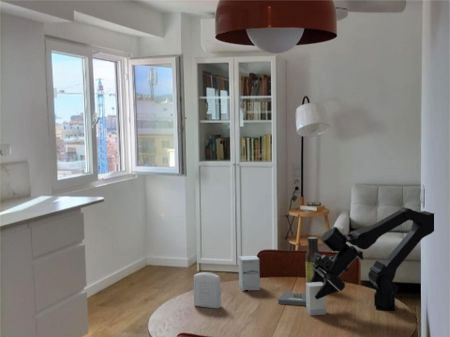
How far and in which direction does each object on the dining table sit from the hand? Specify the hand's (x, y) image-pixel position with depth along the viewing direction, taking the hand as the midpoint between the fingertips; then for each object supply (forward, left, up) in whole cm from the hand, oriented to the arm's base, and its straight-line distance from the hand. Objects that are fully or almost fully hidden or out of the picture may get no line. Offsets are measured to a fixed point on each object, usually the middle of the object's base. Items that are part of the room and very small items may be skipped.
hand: (311, 294), depth 181 cm
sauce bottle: (+3, -31, -7) cm, 31 cm away
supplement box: (+28, -25, -7) cm, 38 cm away
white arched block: (+38, -1, -7) cm, 38 cm away
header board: (+7, -13, -7) cm, 16 cm away
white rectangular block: (-1, -1, -7) cm, 7 cm away
